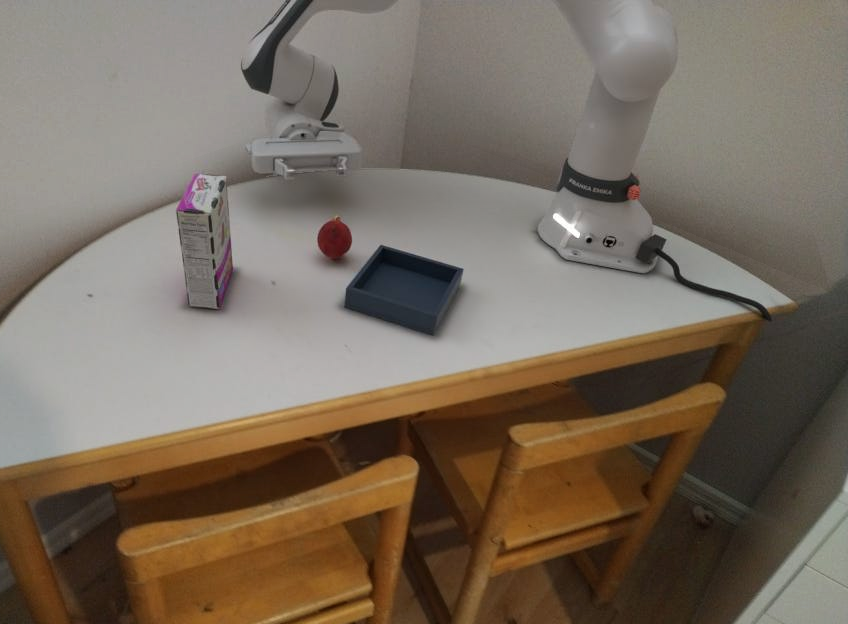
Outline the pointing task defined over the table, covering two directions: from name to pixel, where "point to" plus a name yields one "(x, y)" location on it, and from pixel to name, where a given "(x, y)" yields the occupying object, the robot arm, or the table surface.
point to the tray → (404, 289)
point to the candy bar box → (205, 240)
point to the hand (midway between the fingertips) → (316, 174)
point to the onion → (334, 238)
